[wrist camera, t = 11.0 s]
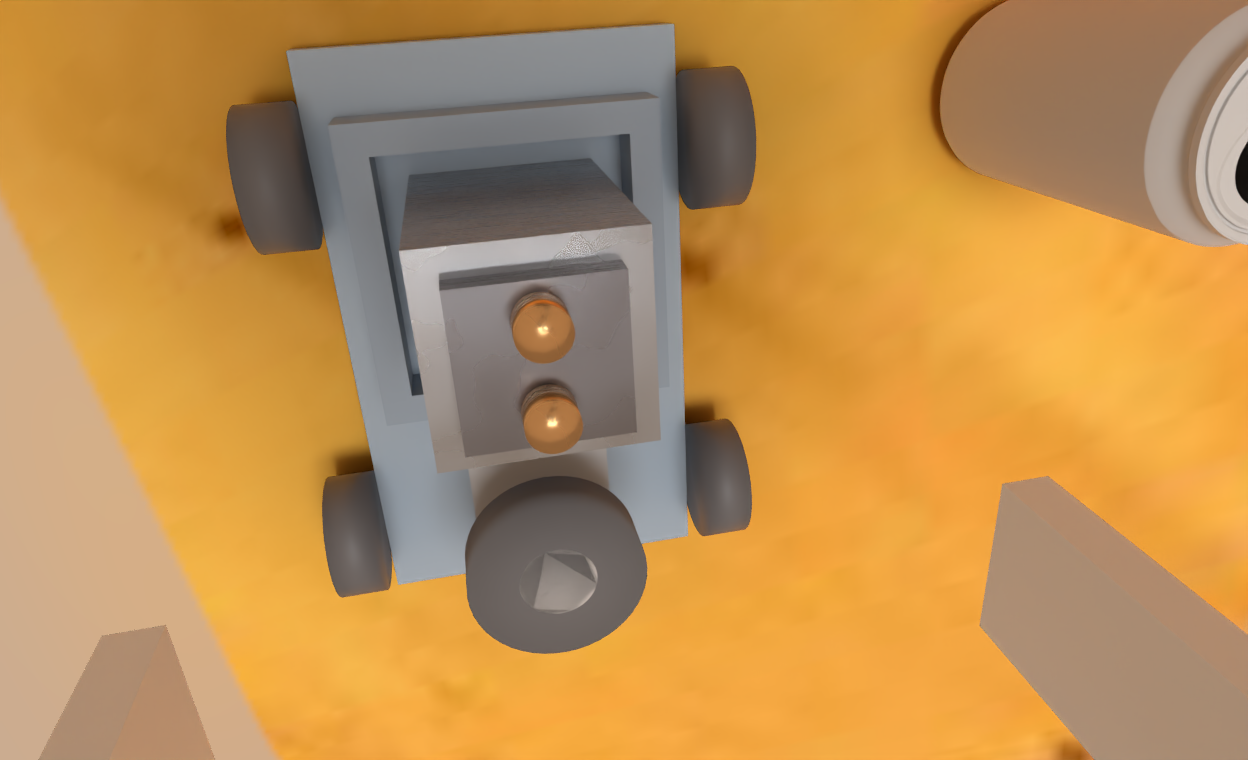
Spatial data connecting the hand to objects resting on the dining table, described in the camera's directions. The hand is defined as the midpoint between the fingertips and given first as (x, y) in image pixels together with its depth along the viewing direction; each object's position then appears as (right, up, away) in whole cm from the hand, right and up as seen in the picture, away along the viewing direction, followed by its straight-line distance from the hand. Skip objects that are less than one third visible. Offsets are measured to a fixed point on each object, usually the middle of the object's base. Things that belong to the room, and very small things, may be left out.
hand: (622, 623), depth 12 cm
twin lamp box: (-4, +8, +17) cm, 19 cm away
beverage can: (+14, +15, +19) cm, 28 cm away
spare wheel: (-3, -2, +19) cm, 19 cm away
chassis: (-4, +6, +19) cm, 20 cm away
